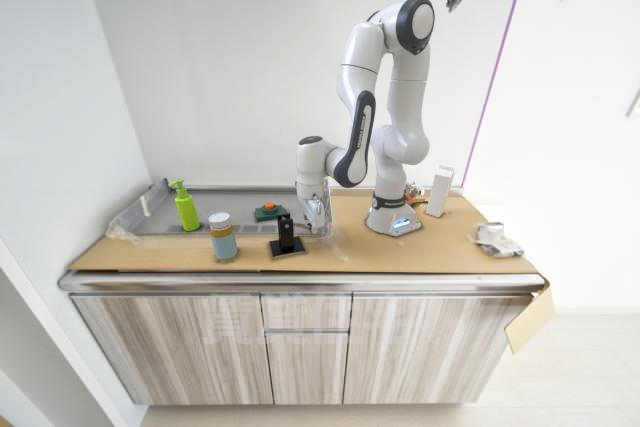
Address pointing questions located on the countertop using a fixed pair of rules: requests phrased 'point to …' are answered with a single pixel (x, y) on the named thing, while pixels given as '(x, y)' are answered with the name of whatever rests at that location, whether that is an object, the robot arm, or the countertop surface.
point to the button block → (268, 213)
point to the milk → (440, 191)
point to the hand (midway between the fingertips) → (309, 225)
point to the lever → (300, 224)
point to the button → (269, 206)
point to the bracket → (285, 238)
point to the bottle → (223, 236)
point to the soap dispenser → (185, 207)
